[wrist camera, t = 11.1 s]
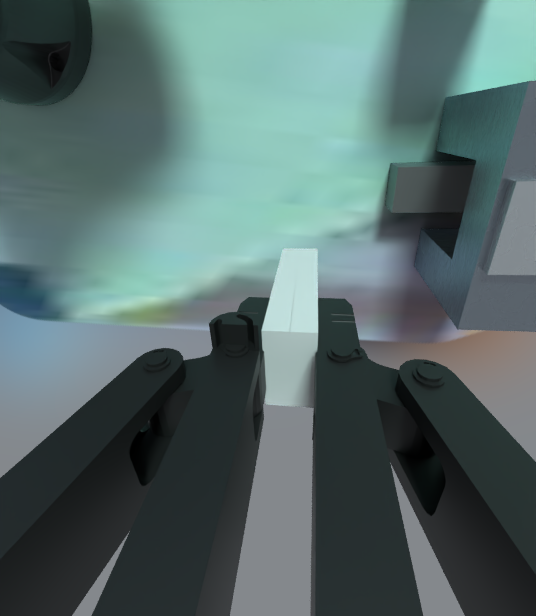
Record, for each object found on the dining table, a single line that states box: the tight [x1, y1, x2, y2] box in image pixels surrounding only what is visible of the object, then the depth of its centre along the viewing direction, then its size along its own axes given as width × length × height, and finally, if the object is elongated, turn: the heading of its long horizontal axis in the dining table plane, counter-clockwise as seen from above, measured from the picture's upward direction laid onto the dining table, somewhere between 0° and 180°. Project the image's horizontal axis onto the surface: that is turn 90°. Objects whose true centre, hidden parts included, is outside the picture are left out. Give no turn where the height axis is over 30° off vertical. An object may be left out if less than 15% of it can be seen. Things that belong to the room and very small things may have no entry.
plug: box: [385, 161, 476, 213], centre depth 29 cm, size 5×16×7 cm, turn 92°
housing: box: [414, 81, 536, 332], centre depth 26 cm, size 16×6×14 cm, turn 3°
